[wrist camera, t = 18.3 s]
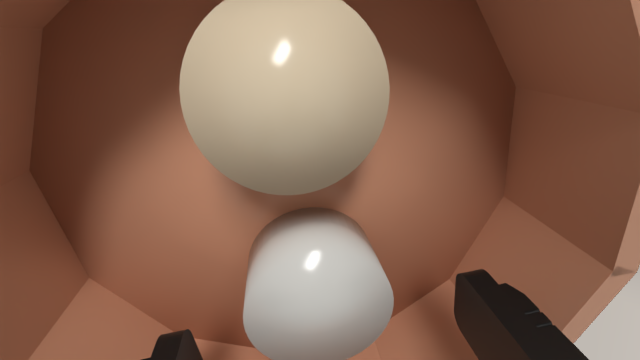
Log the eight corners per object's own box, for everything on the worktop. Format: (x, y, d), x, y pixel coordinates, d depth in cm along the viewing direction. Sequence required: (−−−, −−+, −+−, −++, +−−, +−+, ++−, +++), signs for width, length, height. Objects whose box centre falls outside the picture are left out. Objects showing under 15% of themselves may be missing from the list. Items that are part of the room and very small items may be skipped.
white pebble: (234, 221, 12) (225, 270, 10) (365, 195, 12) (390, 236, 10) (262, 318, 14) (261, 380, 12) (374, 294, 15) (396, 349, 12)
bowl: (-121, -85, 8) (-730, -270, 3) (549, -162, 9) (862, -380, 4) (141, 379, 16) (82, 539, 11) (495, 301, 17) (588, 411, 12)
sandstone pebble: (181, 7, 9) (148, -4, 7) (355, -14, 10) (386, -31, 7) (223, 170, 11) (210, 209, 9) (365, 147, 12) (392, 179, 9)
